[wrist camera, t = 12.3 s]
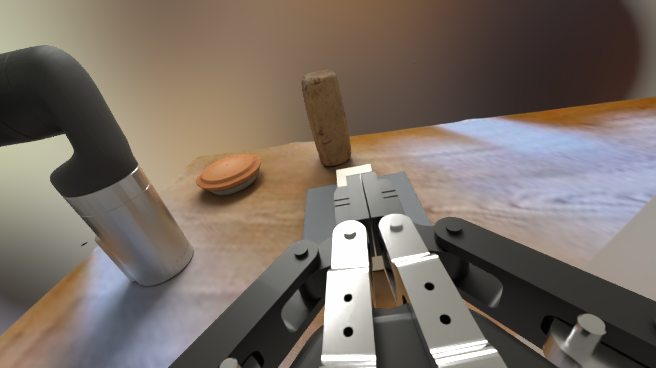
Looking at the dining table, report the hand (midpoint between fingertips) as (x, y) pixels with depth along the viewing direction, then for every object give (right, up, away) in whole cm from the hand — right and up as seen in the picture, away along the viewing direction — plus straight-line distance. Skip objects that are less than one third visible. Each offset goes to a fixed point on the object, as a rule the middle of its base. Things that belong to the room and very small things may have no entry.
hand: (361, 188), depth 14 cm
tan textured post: (0, +7, +53) cm, 54 cm away
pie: (-25, 0, +53) cm, 59 cm away
